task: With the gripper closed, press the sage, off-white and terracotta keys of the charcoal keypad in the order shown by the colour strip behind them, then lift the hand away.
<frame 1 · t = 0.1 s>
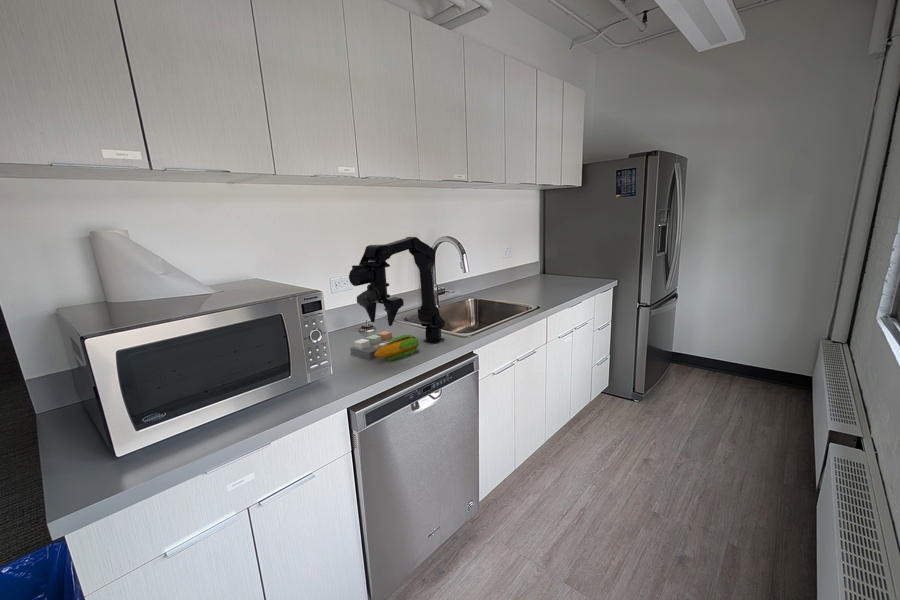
hand: (381, 323, 144), 15 cm above the worktop, tool pointing down, fingers open, 9 cm apart
key offwhite: (362, 345, 155), point 4 cm above the worktop, slide at 0.0 cm
key terracotta: (384, 336, 165), point 4 cm above the worktop, slide at 0.0 cm
key sage: (373, 341, 160), point 4 cm above the worktop, slide at 0.0 cm
keypad: (378, 350, 160), on the worktop
corn: (398, 357, 152), on the worktop
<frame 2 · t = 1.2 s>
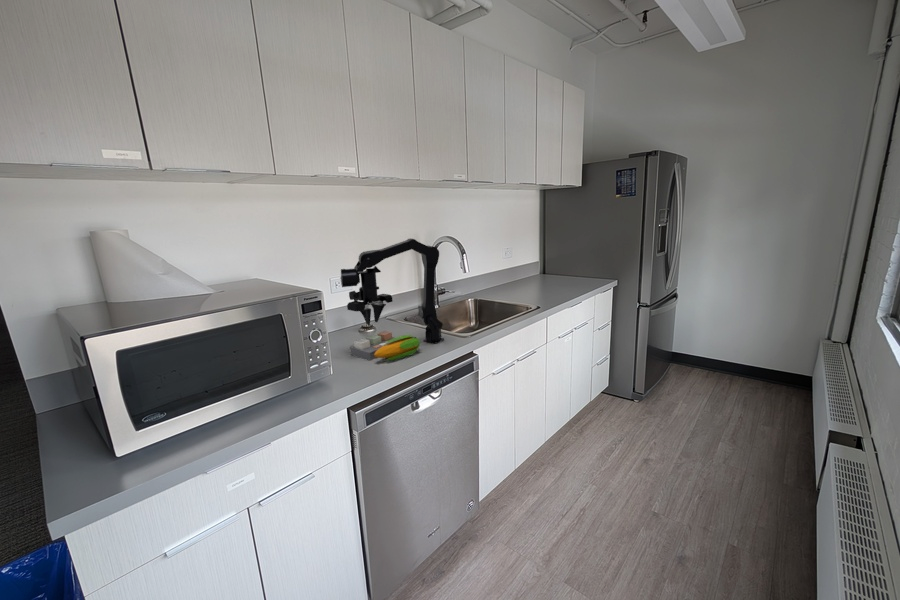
hand: (372, 323, 158), 11 cm above the worktop, tool pointing down, fingers open, 4 cm apart
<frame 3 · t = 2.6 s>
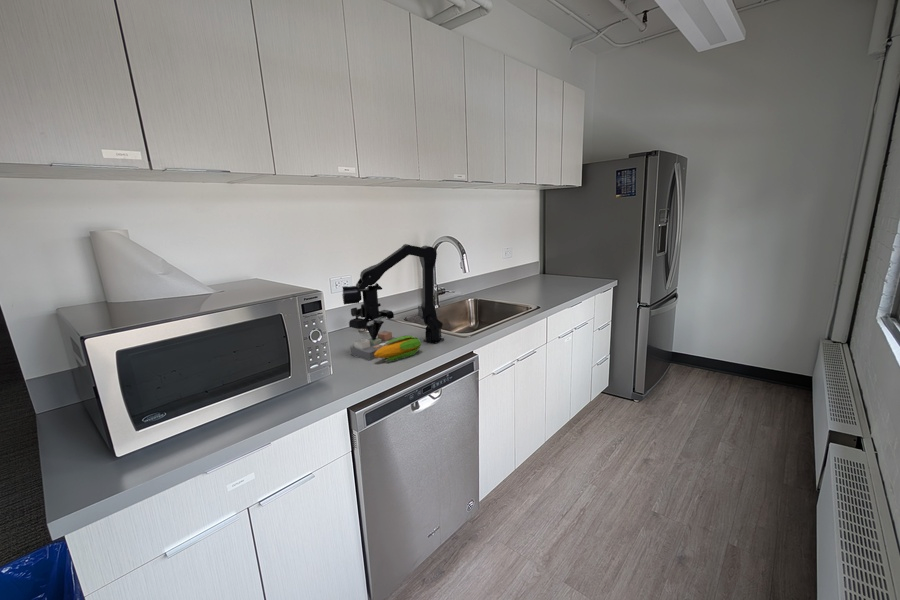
hand: (373, 339, 160), 4 cm above the worktop, tool pointing down, fingers closed, pressing on key sage
key sage: (374, 343, 160), point 3 cm above the worktop, slide at 1.1 cm, touching gripper
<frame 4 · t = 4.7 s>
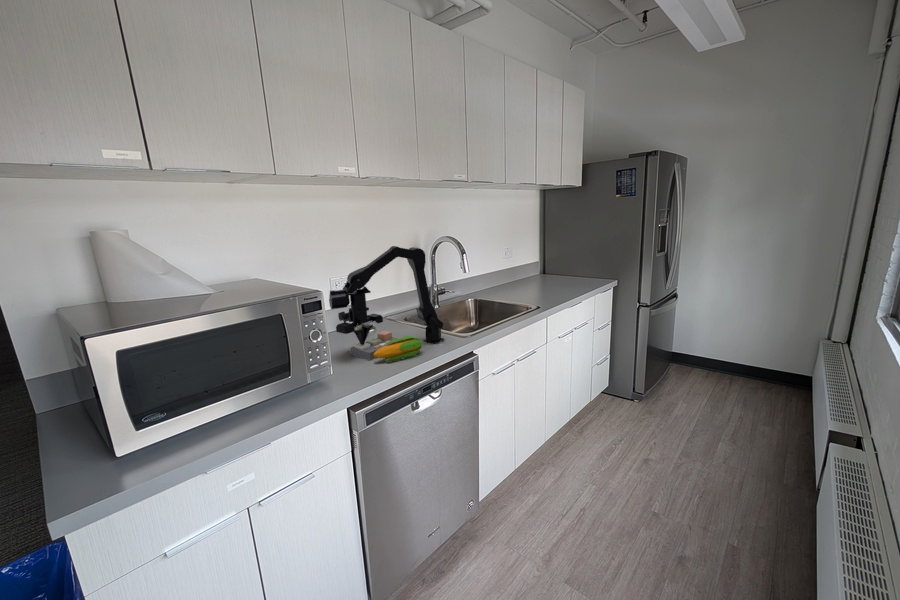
hand: (362, 344, 155), 4 cm above the worktop, tool pointing down, fingers closed, pressing on key offwhite
key offwhite: (362, 348, 156), point 2 cm above the worktop, slide at 1.4 cm, touching gripper
key sage: (374, 344, 160), point 2 cm above the worktop, slide at 1.5 cm
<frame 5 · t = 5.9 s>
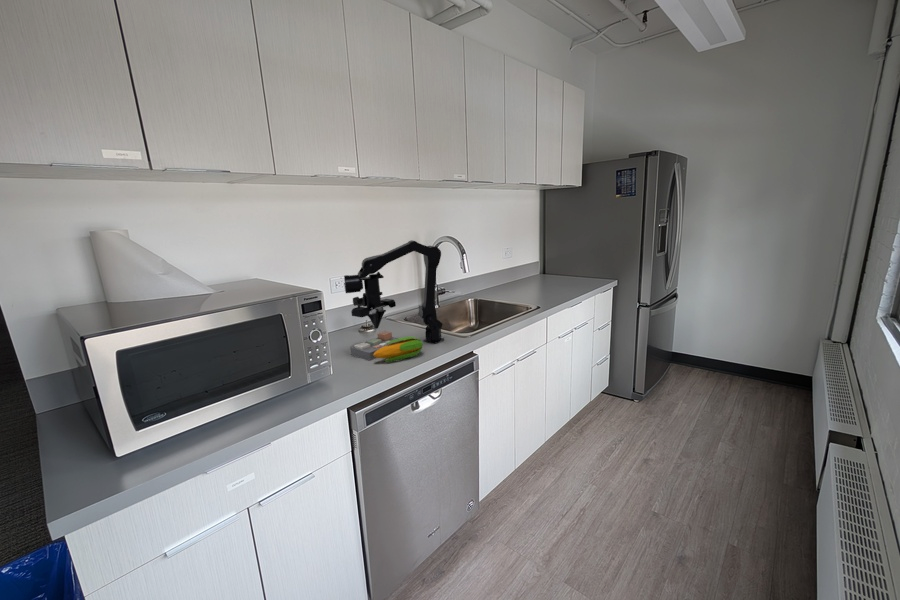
hand: (376, 328, 160), 9 cm above the worktop, tool pointing down, fingers closed
key offwhite: (362, 348, 156), point 2 cm above the worktop, slide at 1.5 cm
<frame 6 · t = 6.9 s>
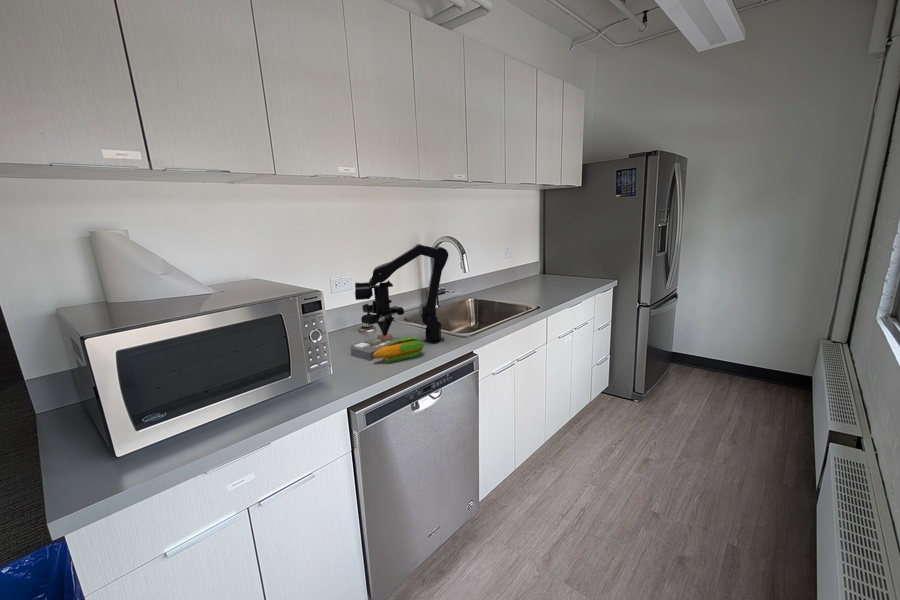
hand: (384, 335, 164), 4 cm above the worktop, tool pointing down, fingers closed, pressing on key terracotta
key terracotta: (385, 339, 165), point 3 cm above the worktop, slide at 0.9 cm, touching gripper
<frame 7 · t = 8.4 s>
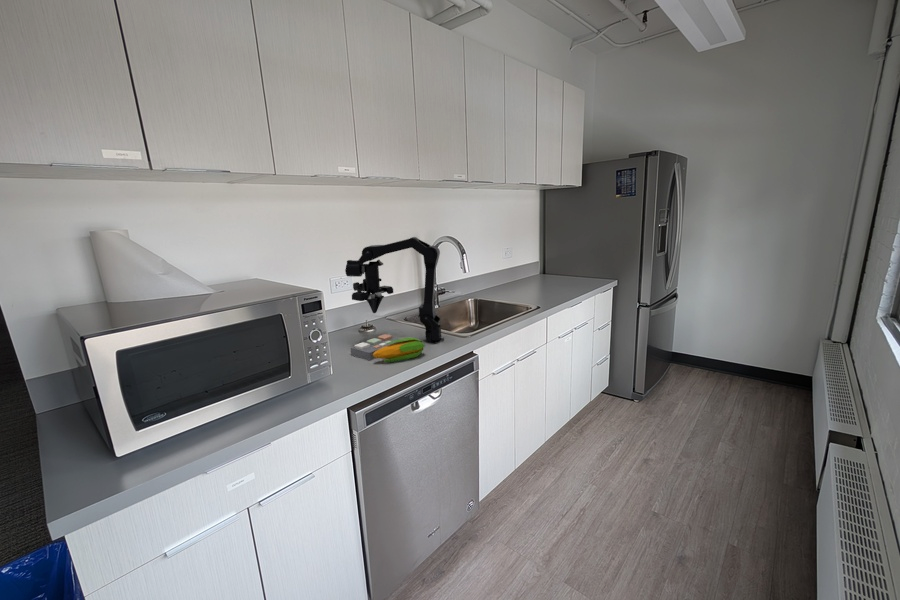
hand: (374, 313, 169), 12 cm above the worktop, tool pointing down, fingers closed
key terracotta: (385, 340, 165), point 2 cm above the worktop, slide at 1.5 cm
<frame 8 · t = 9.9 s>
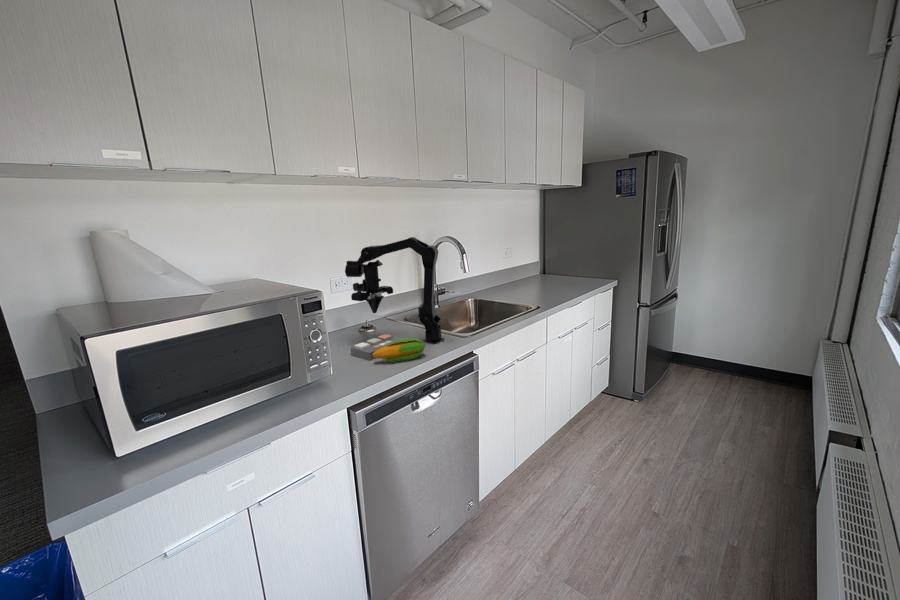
hand: (374, 313, 170), 12 cm above the worktop, tool pointing down, fingers closed
at the end: key sage slide at 1.5 cm; key offwhite slide at 1.5 cm; key terracotta slide at 1.5 cm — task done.
